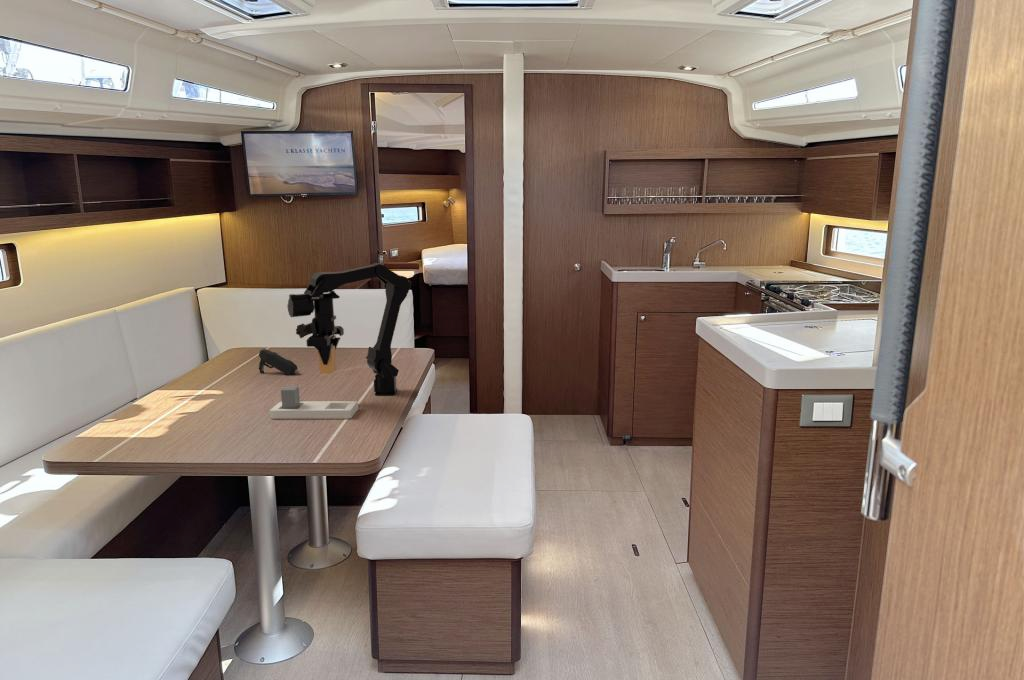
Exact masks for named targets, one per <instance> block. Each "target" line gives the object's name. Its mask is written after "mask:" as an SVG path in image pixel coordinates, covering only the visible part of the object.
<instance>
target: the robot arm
mask: <svg viewBox="0 0 1024 680" xmlns="http://www.w3.org/2000/svg"><path fill="white" fill-rule="evenodd" d="M372 278H377V279H378V280H379V281H380V282H382V283H383V284H384V285H385V290H384V291H385V297H386V298H385V300H386V303H385V307H384V311H383V316H382V319H381V323H380V327H379V331H378V335H377V340H376V343H375V344H374V346H373V347H372V346H368V349H367V355H366V357H365V359H366V364H367V365H368V367H369V368H370V369H371V370H372V372H373V373H374V374H375V376H374V378H375V379H373V391H374V396H394V395H396V393H397V392H398V390H399V389H398V387H397V377H398V374H399V369H398V368H397V367H396V366H395V365H393V364H392V360H393V355H392V348H391V347H392V343H393V337H394V334H395V330H396V326H397V321H398V317H399V313H400V310H401V305H402V304H403V302H404V301H405V299H406V298H407V296H408V293H409V291H410V289H411V284H412V283H411V281H410V280H409V278H408V277H406V276H403V275H399V274H397V273H396V272H394V271H393V270H390V269H389V268H388V267H386V266H385V265H384V264H382V263H377V262H376V263H375V262H374V263H371V264H369V265H364V266H361V267H356V268H351V269H346V270H341V271H322V272H321V271H319V272H315V273H313V274H312V276H311V277H310V280H309V284H308V286H307V287H306V289H305V291H304V292H303V293H299V294H294V293H292V294H291V293H290V294H289V295H288V301H287V302H288V303H287V312H288V314H289V317H290V318H297V317H306V316H311V314H313V313H314V317H312V319H311V322H309V323H306V324H305V323H301V324H297V326H296V328H295V331H296V332H295V334H296V335H298V337H299V338H300V339H303V338H304V337H307V336H308V335H310V336H309V337H308V338H307V339H306V340H305V341H306V347H308V348H310V347H312V348H315V349H316V350H317V352H318V351H319V354H320V356H321V359H322V362H323V364H324V365H327V364H328V361H329V357H330V353H331V350H332V346H333V345H335V351H336V350H337V347H338V345H339V342H340V340H341V337H342V336H343V335H345V332H344V328H343V326H341V325H335V320H337V315H335V311H334V300H335V299H340V295H338V294H337V293H336V292H335V290H336V289H338V288H340V287H341V286H344V285H348V284H351V283H356V282H360V281H364V280H368V279H372ZM337 335H339V337H336V336H337ZM319 354H318V355H319Z"/></svg>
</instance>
